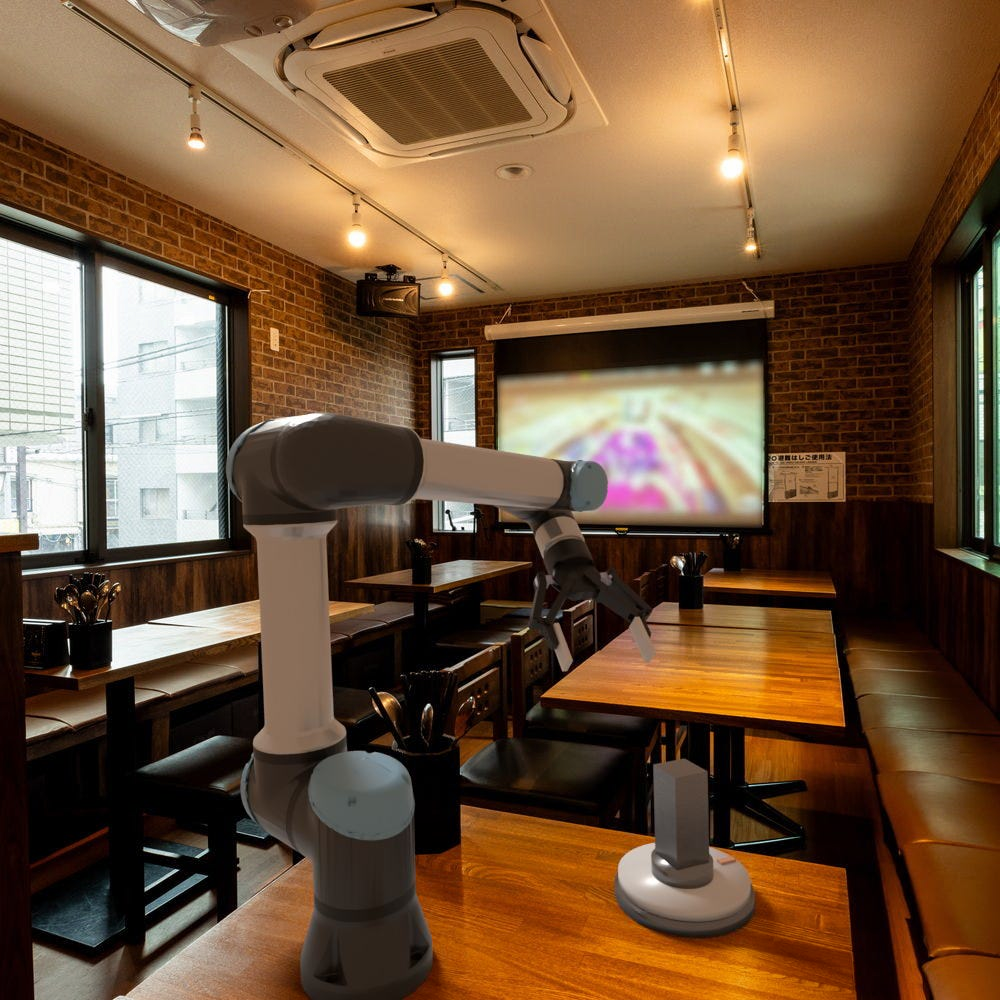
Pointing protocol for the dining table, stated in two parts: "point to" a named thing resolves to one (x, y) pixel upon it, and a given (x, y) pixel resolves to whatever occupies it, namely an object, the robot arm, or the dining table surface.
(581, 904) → the dining table surface
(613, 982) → the dining table surface
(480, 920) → the dining table surface
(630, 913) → the base
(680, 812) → the square post on disc
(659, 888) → the turntable platter
